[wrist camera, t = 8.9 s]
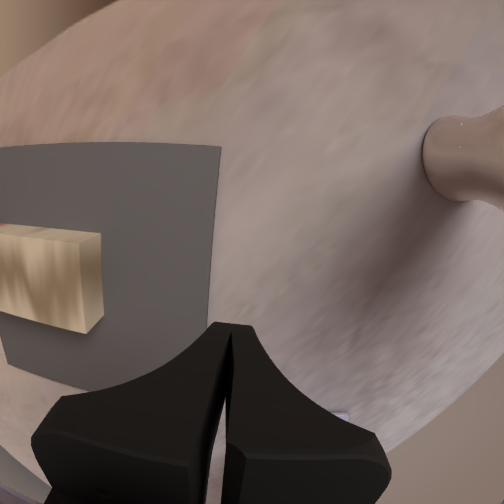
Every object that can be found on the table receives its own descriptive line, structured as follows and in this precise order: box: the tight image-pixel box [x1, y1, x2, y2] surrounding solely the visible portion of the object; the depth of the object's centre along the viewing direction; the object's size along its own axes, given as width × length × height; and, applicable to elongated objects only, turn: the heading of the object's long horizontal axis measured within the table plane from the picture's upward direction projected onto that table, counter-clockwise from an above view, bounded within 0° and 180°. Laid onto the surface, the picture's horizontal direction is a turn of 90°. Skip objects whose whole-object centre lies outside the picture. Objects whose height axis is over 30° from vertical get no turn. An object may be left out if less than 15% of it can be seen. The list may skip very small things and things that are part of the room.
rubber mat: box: [0, 142, 221, 392], centre depth 21 cm, size 20×20×1 cm
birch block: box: [0, 223, 104, 334], centre depth 19 cm, size 6×3×10 cm
